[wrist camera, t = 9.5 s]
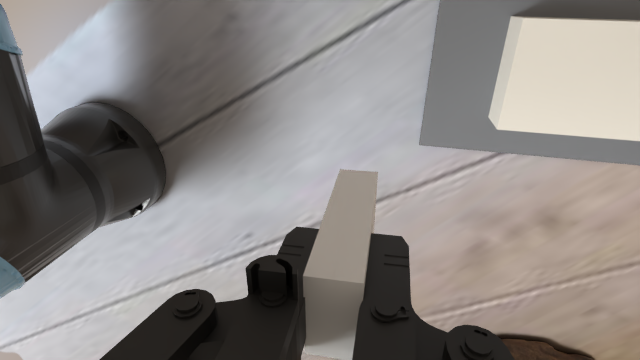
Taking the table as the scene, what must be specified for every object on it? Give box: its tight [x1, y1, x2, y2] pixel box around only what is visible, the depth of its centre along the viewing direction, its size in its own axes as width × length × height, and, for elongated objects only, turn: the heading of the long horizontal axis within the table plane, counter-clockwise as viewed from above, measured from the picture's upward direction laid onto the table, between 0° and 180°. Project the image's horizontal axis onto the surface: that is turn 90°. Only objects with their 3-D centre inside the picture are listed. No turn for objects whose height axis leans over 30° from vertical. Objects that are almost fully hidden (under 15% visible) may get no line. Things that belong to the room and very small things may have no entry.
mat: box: [419, 0, 640, 165], centre depth 34 cm, size 22×16×1 cm
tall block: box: [488, 16, 640, 141], centre depth 32 cm, size 4×9×12 cm
